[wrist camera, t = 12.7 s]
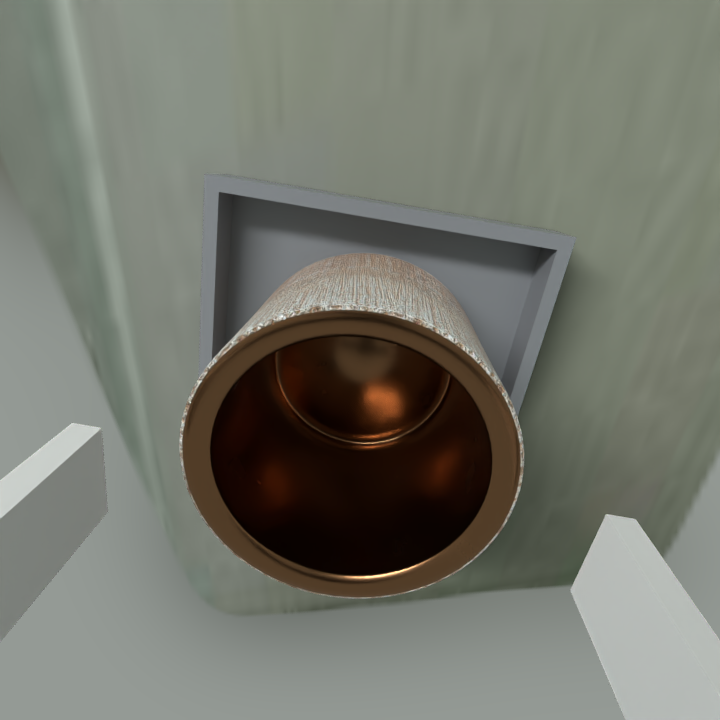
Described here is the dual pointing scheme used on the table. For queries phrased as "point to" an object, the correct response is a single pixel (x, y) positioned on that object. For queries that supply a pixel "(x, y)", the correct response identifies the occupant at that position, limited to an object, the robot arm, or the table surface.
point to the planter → (354, 434)
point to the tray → (386, 237)
